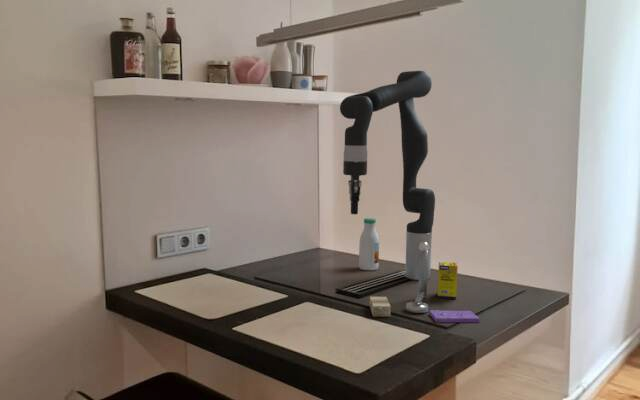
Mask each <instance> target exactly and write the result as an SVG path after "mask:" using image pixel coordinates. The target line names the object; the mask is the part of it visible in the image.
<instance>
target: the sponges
mask: <svg viewBox="0 0 640 400" xmlns="http://www.w3.org/2000/svg"><path fill="white" fill-rule="evenodd" d="M429 316H430V317H431V318H432V320H434V321H435V322H436V323H478V322H480V321H481V320H480V317H479V316H477V315H476V314H475V313H474V312H473V311H472V310H436V309H435V310H433V309H432V310H429Z"/></svg>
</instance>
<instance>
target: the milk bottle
mask: <svg viewBox="0 0 640 400" xmlns="http://www.w3.org/2000/svg"><path fill="white" fill-rule="evenodd" d="M376 222H377V221H376V218H373V217H366V218H363V230H362V232H361V233H360V236H359V244H358V245H359V247H358V249H359V250H358V268H359V269H360V270H363V271H377V270H378V269H379V261H380V260H379V259H380V239H379V235H378V232H377V229H376Z"/></svg>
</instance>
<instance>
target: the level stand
mask: <svg viewBox="0 0 640 400" xmlns="http://www.w3.org/2000/svg"><path fill="white" fill-rule="evenodd" d="M369 308H370V311H371V314H372V317H380V318H381V317H389V318H391V310H392V309H391V308H392V307H391V303H390V302H389V300H388V298H387V296H369Z"/></svg>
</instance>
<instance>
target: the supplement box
mask: <svg viewBox="0 0 640 400" xmlns="http://www.w3.org/2000/svg"><path fill="white" fill-rule="evenodd" d="M437 273H438V274H437V275H438V276H437V277H438V278H437V294H436V295H437V298H438V299H446V300H447V299H450V300H456V299H457V286H458V285H457V284H458V283H457V282H458V281H457V280H458V262H451V261H438V272H437Z"/></svg>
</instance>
